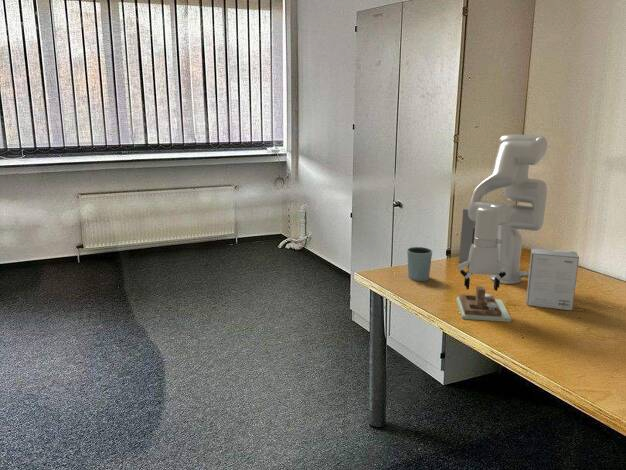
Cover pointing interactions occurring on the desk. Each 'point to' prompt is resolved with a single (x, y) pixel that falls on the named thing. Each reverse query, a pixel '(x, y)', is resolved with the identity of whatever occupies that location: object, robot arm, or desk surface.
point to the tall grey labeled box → (466, 236)
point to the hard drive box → (552, 279)
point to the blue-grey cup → (419, 263)
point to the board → (492, 318)
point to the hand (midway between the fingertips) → (481, 288)
